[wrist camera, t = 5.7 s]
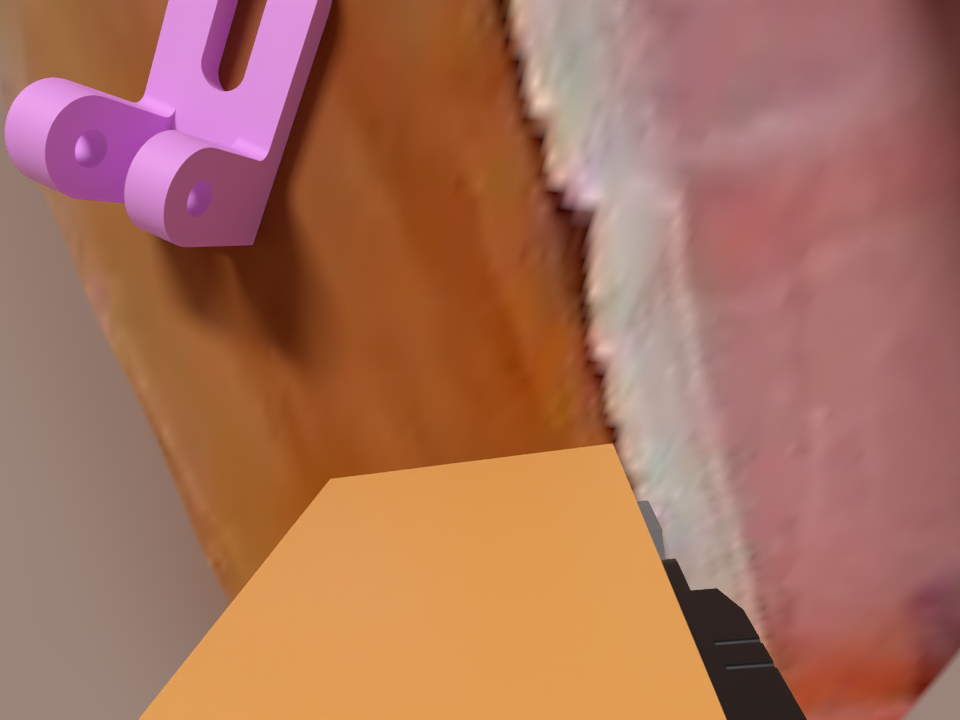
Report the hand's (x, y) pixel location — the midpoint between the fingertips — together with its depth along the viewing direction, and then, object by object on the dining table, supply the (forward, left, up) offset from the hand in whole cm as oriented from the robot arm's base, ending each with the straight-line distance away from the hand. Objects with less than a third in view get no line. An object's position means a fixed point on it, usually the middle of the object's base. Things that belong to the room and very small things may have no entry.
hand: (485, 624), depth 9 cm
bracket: (+9, -15, -16) cm, 24 cm away
